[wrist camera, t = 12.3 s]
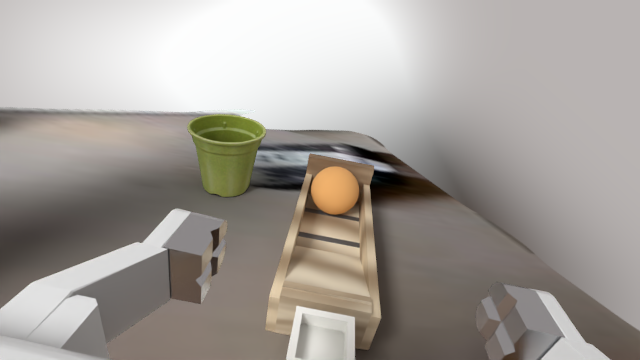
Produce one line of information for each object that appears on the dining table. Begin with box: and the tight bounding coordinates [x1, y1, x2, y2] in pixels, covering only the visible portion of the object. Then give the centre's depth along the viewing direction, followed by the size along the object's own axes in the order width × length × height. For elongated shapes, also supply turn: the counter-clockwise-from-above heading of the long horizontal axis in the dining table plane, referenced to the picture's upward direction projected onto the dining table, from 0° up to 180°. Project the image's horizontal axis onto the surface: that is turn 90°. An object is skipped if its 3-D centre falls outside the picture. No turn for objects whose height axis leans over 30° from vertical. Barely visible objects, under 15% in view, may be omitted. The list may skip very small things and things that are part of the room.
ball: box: [311, 166, 359, 215], centre depth 39 cm, size 6×6×6 cm
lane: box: [265, 154, 381, 350], centre depth 34 cm, size 22×9×7 cm, turn 174°
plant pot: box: [187, 114, 266, 197], centre depth 42 cm, size 9×9×9 cm
